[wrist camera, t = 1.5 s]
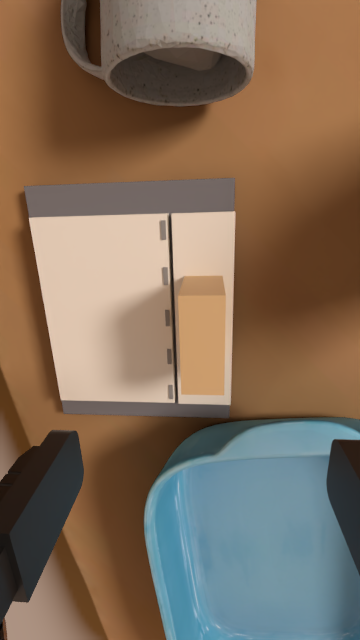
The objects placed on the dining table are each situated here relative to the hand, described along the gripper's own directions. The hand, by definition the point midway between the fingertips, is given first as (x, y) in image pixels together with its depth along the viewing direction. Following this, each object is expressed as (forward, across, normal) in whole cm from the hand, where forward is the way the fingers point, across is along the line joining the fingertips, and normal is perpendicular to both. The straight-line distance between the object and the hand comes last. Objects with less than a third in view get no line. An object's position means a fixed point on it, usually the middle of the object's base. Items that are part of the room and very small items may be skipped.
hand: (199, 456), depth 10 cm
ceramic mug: (+16, +2, -17) cm, 23 cm away
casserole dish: (+16, -7, +23) cm, 29 cm away
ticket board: (+15, +5, 0) cm, 16 cm away
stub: (+14, 0, 0) cm, 14 cm away
